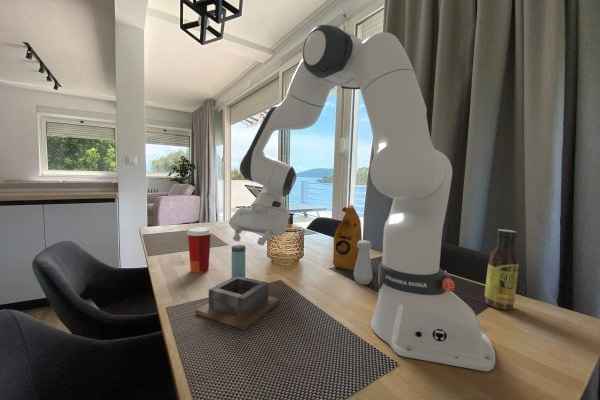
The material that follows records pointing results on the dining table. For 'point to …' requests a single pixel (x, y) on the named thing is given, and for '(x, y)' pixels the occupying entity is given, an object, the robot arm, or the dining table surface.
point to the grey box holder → (238, 302)
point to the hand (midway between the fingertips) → (247, 242)
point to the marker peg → (238, 261)
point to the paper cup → (199, 249)
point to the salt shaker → (363, 263)
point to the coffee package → (347, 240)
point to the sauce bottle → (502, 272)
